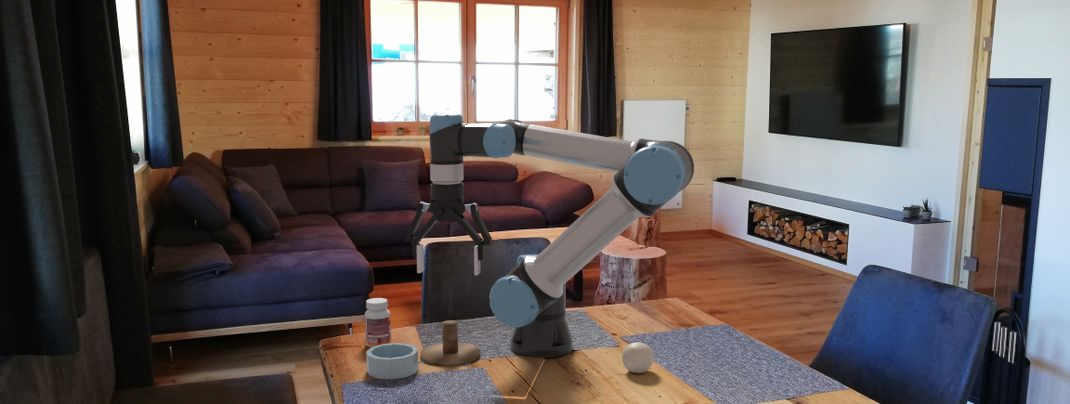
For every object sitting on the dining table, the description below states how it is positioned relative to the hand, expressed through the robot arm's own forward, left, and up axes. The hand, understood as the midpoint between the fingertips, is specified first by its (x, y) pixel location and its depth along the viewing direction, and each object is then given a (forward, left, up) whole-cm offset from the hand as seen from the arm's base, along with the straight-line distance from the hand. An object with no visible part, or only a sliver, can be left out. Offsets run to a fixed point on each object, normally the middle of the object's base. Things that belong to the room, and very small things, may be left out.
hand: (448, 273), depth 198 cm
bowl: (+10, +12, -20) cm, 26 cm away
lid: (0, 0, -20) cm, 20 cm away
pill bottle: (+20, -6, -21) cm, 29 cm away
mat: (0, 0, -20) cm, 20 cm away
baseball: (-44, +2, -21) cm, 49 cm away
